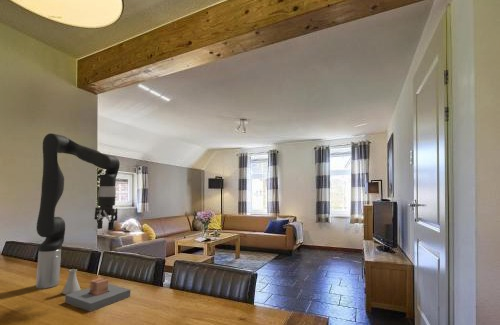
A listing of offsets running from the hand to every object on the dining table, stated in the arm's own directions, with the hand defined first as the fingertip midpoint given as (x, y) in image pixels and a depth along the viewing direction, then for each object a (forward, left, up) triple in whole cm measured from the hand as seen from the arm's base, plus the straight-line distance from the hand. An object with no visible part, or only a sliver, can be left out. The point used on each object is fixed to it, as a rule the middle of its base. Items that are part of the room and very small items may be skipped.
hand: (105, 229), depth 136 cm
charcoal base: (+10, -8, -28) cm, 31 cm away
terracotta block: (+10, -8, -28) cm, 31 cm away
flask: (-9, -9, -28) cm, 31 cm away
